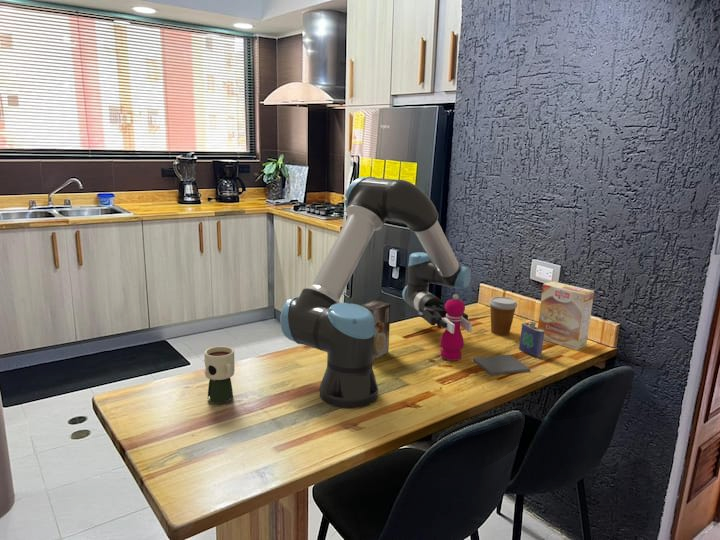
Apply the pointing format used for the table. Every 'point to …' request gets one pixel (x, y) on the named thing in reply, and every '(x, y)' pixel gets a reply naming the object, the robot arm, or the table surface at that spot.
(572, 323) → the coffeecake box
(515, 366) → the charcoal mat
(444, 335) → the pepper mill
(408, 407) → the table surface
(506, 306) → the disposable coffee cup
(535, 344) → the flask
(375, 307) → the coffee box
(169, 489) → the table surface
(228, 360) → the character mug
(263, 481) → the table surface
